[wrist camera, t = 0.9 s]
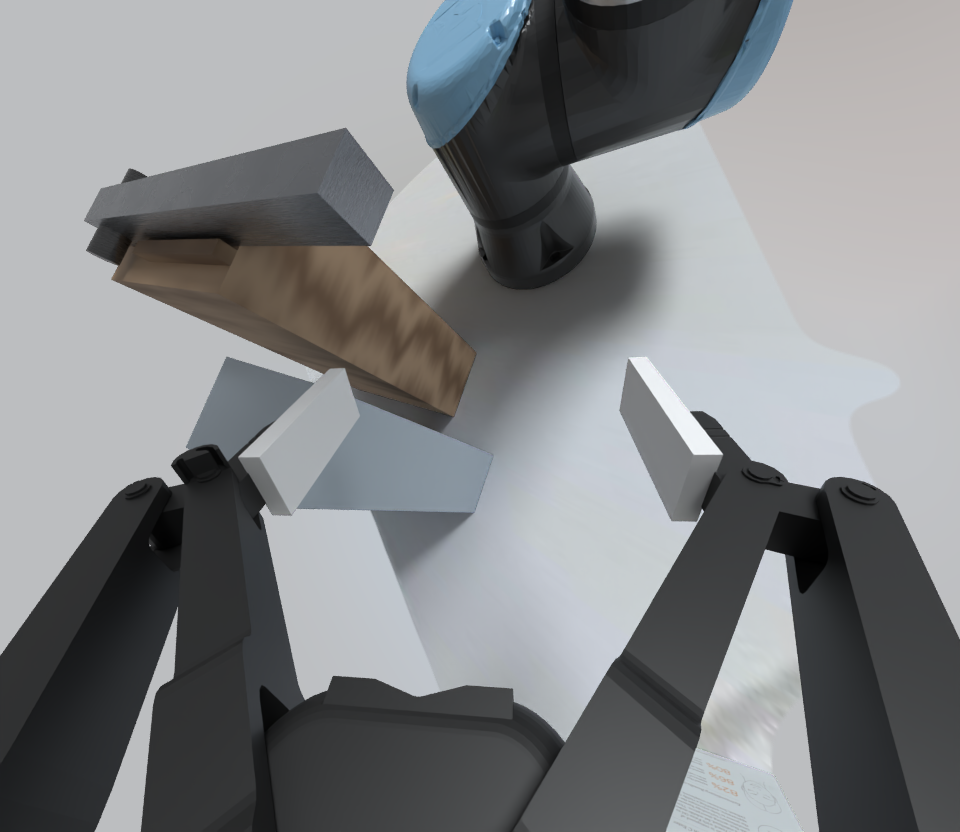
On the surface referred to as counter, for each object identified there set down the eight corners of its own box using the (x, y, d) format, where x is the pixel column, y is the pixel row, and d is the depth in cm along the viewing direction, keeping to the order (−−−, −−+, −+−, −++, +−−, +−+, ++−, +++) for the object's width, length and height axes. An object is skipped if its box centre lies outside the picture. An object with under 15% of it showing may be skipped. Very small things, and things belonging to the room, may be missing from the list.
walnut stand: (379, 335, 54) (144, 175, 28) (476, 352, 45) (263, 144, 20) (358, 389, 53) (94, 271, 27) (453, 417, 44) (197, 283, 19)
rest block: (416, 429, 46) (226, 356, 25) (493, 454, 40) (331, 388, 20) (397, 479, 45) (186, 447, 24) (474, 512, 40) (283, 508, 19)
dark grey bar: (158, 194, 29) (113, 165, 26) (410, 150, 15) (366, 81, 13) (120, 269, 28) (70, 245, 25) (353, 289, 15) (294, 243, 12)
